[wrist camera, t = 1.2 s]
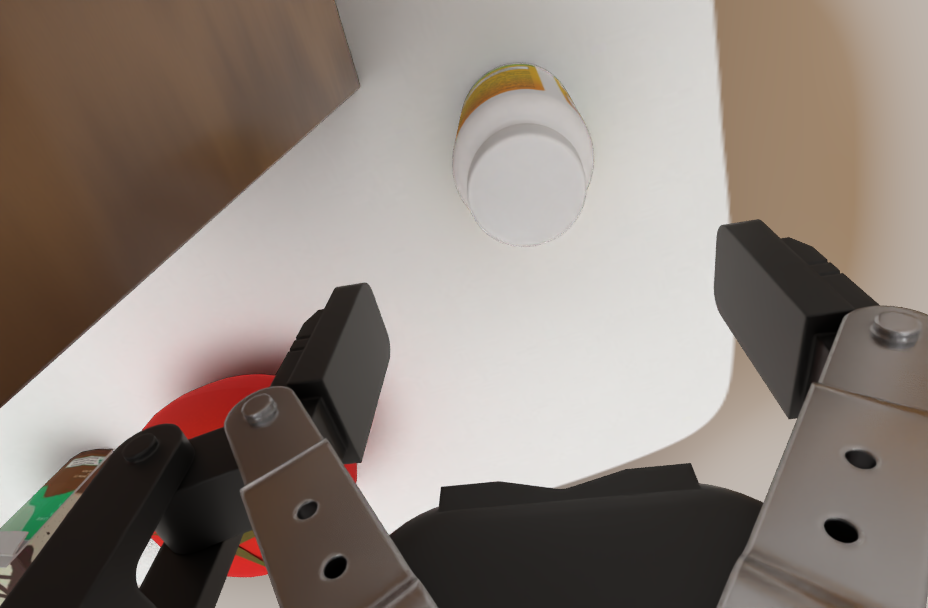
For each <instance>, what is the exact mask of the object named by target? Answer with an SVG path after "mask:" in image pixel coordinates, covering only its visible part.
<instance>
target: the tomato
mask: <svg viewBox="0 0 928 608" xmlns="http://www.w3.org/2000/svg"><path fill="white" fill-rule="evenodd" d="M275 376H276V375H265V374H252V375H240V376H234V377H229V378H225V379H222V380H218V381H215V382H212V383H210V384H207V385H205V386H202V387H200V388H197V389H195V390H193V391H191V392H188V393H186V394H184V395H182V396H181V397H179V398H177V399H176V400H174V401H173V402H171V403H170V404H168V405H167V406H166V407H164V408H163V409H162V410H160V411H159V412H158V413H156V414H155V415H154V417H153V418H152V419H151V420H150V421H149V422H148V424H147V425H146V426H145V427H144V428H143V429H142V430H145V429H147V428H149V427H152V426H155V425H159V424H166V423H169V424H175V425H177V426H179V428H180V429H181V430H182V432H183V433H184V434H185V436H186V437H187V439H191V438H194V437H196V436H199V435H202V434H205V433H208V432H210V431H213V430H216V429H219V428H222V427H224V422H225V419H226V417H227V415H228V413H229V412H230V411H231V409H232V408H233V407H234V406H235V405H236V404H237V403H238V402H240V401H241V400H242V399H244V398H245V397H246V396H248V395H250V394H252V393H254V392H256V391H258V390H261V389H263V388H267V387H270V385H271V383H272V381H273V379H274V377H275ZM344 466H345V467H346V469H347V471H348V472H349V474H350V475H351V477H352V478H353V480H354V482H355V483H356V481H357V464H356V463H354V464H344ZM151 538H152V539H153V540H154V541H155V542H156V543H157V544H158V545H159V546H160V547H161V546H162V544H163V542H164V541H163V540H162V539H161V538H160V537H159V536H158V534H157V533H156V532H155V531H154V533H153V535H152V537H151ZM266 574H268V572H267V569H266V566H265V564H264V561H263V558H262V555H261V552H260V549H259V547H258V544H257V541H256V538H255V535H254V532H253V530H251V531H249V532H246V533H243V536H242V539H241V541H240V544H239V547H238V549H237V552H236V554H235V557H234V559H233V562H232V565H231V567H230V570H229V572H228V575H227V576H230V577H255V576H262V575H266Z"/></svg>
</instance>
